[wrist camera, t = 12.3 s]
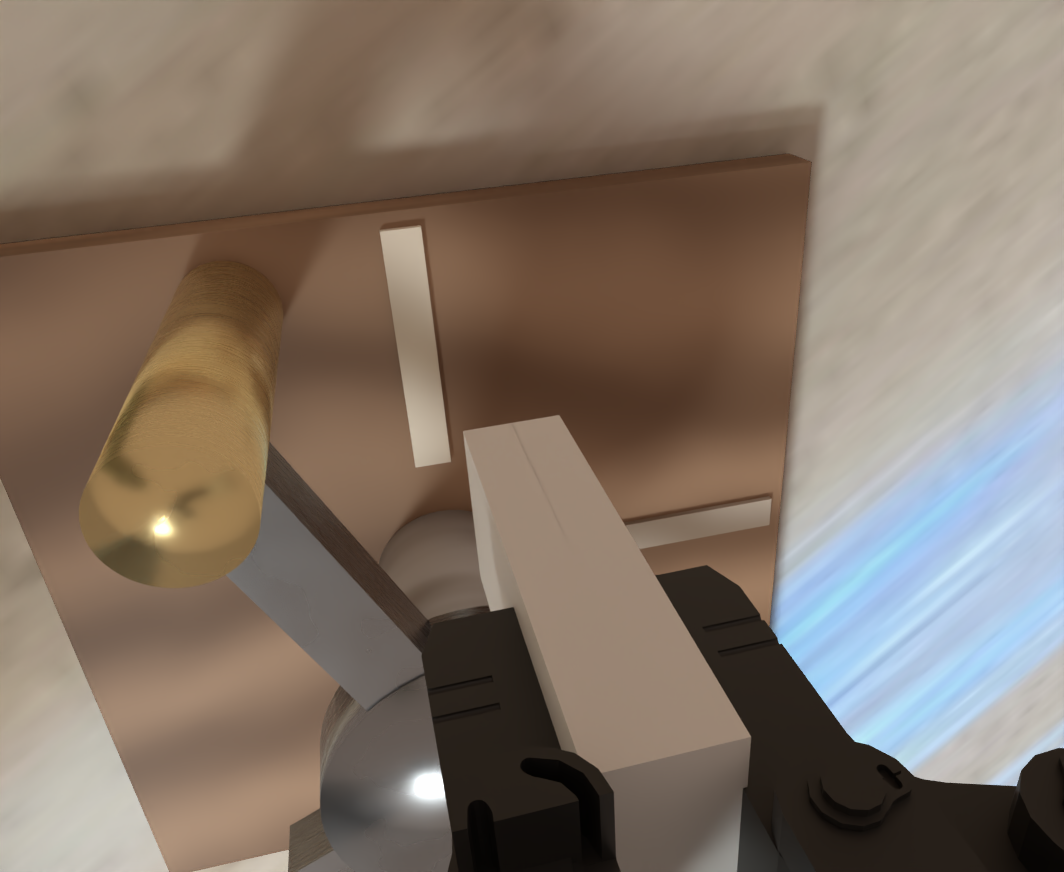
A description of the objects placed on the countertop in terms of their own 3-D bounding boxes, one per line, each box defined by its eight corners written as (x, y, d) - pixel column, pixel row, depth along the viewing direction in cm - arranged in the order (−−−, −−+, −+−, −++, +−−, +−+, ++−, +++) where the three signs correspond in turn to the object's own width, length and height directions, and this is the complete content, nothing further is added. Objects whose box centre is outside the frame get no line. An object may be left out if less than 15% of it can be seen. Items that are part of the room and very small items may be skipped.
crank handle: (328, 182, 24) (333, 319, 14) (611, 591, 33) (730, 842, 23) (20, 381, 24) (-172, 639, 15) (380, 728, 33) (404, 1025, 24)
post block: (744, 717, 41) (844, 891, 33) (176, 844, 37) (137, 1077, 29) (789, 153, 28) (966, 220, 20) (-68, 252, 24) (-252, 382, 16)
